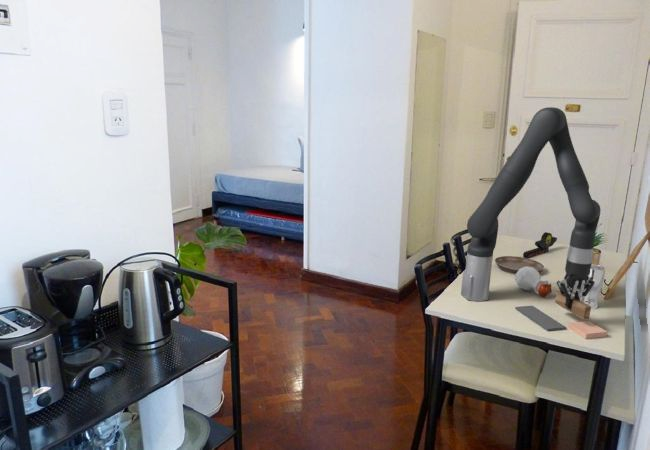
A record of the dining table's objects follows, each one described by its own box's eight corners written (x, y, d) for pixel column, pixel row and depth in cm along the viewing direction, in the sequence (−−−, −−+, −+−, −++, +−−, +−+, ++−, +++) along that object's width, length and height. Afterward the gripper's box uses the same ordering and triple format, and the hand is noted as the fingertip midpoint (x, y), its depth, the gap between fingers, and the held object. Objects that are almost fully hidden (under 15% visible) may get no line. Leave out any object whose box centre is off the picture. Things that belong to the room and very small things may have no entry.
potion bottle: (519, 287, 205) (544, 305, 192) (505, 276, 201) (530, 294, 188) (533, 269, 204) (560, 286, 191) (520, 258, 200) (546, 275, 187)
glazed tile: (567, 329, 166) (585, 340, 159) (568, 323, 166) (586, 333, 158) (588, 326, 168) (606, 337, 160) (589, 321, 167) (607, 331, 160)
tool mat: (547, 331, 163) (547, 328, 163) (515, 308, 180) (515, 306, 180) (565, 329, 165) (566, 327, 165) (532, 307, 182) (532, 305, 182)
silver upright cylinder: (580, 300, 190) (586, 262, 186) (601, 305, 186) (607, 266, 182) (576, 305, 185) (582, 267, 181) (597, 310, 180) (603, 271, 177)
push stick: (583, 319, 163) (585, 307, 162) (554, 302, 176) (556, 291, 175) (589, 319, 164) (591, 306, 163) (560, 302, 177) (562, 290, 176)
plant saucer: (532, 263, 233) (533, 256, 232) (551, 278, 213) (552, 271, 212) (488, 261, 233) (489, 255, 233) (502, 277, 213) (503, 269, 213)
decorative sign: (551, 248, 256) (554, 229, 254) (555, 249, 255) (558, 230, 252) (522, 257, 240) (525, 237, 238) (526, 258, 238) (529, 238, 236)
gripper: (569, 264, 160) (561, 314, 165) (605, 261, 164) (597, 310, 168) (553, 257, 167) (547, 305, 172) (588, 255, 171) (581, 302, 175)
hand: (571, 307), depth 170 cm, fingers closed on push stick, 2 cm apart
